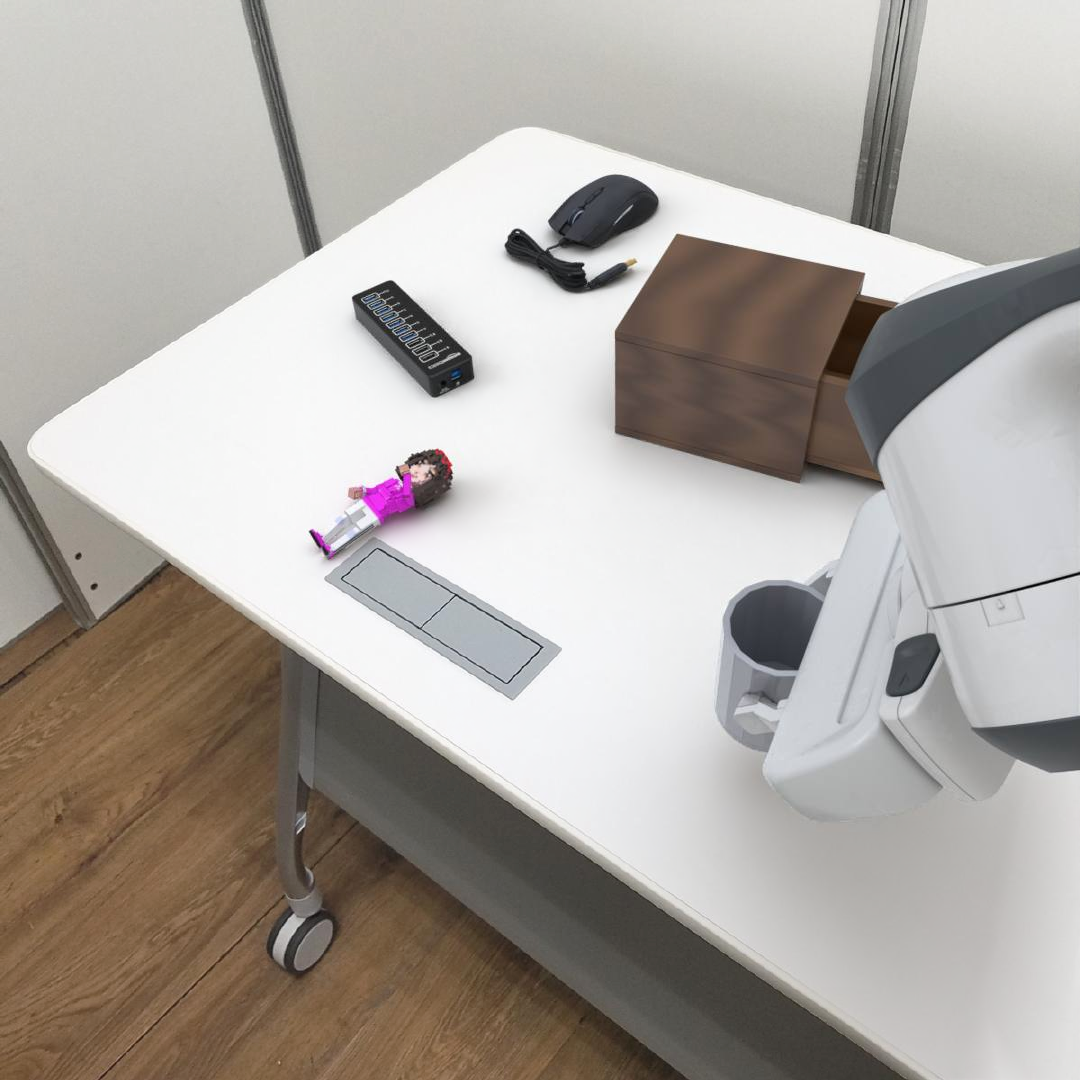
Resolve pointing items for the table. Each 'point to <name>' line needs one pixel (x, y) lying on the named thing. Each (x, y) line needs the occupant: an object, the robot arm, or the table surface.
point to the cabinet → (730, 353)
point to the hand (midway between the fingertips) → (765, 660)
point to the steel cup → (762, 648)
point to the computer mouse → (589, 227)
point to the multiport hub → (413, 338)
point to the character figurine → (389, 498)
